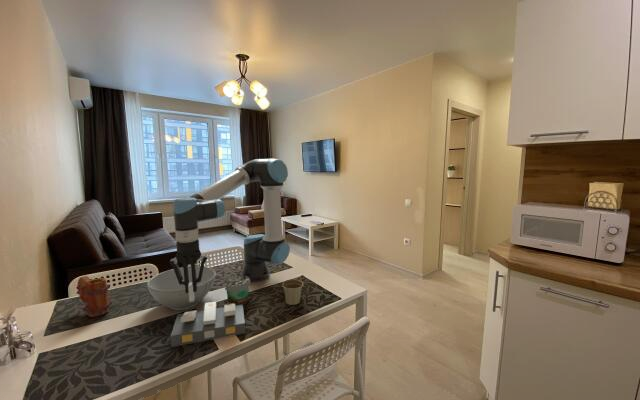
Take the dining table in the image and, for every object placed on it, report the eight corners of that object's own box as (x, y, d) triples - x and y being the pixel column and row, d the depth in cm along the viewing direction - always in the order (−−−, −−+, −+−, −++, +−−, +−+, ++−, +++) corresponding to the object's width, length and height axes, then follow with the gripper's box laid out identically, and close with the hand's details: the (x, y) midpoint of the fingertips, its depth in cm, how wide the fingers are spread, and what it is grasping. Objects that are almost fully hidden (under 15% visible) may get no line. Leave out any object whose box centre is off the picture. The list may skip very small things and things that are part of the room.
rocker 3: (224, 309, 106) (224, 304, 106) (235, 307, 107) (235, 303, 107) (224, 316, 96) (224, 311, 96) (235, 314, 98) (235, 309, 98)
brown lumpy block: (116, 310, 112) (114, 276, 110) (95, 321, 104) (91, 284, 102) (93, 304, 116) (90, 271, 115) (71, 314, 109) (67, 279, 107)
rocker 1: (185, 316, 101) (185, 311, 101) (196, 314, 102) (196, 310, 102) (181, 322, 92) (181, 317, 92) (193, 320, 93) (193, 315, 93)
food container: (235, 311, 112) (234, 288, 111) (225, 307, 115) (224, 285, 114) (256, 299, 123) (256, 278, 121) (247, 295, 126) (246, 275, 125)
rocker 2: (205, 306, 103) (205, 302, 103) (216, 304, 105) (216, 301, 104) (203, 325, 94) (203, 321, 94) (215, 323, 96) (215, 319, 95)
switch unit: (178, 324, 103) (177, 311, 102) (242, 313, 111) (242, 302, 110) (171, 347, 89) (170, 333, 89) (245, 333, 97) (244, 320, 97)
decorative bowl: (227, 302, 119) (226, 277, 118) (160, 328, 100) (158, 298, 98) (201, 284, 137) (200, 262, 136) (141, 303, 118) (139, 277, 117)
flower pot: (300, 308, 115) (300, 289, 114) (279, 306, 117) (279, 287, 116) (305, 298, 124) (305, 280, 123) (286, 296, 126) (286, 278, 125)
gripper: (165, 244, 92) (170, 308, 96) (206, 241, 97) (209, 301, 100) (169, 239, 99) (174, 298, 103) (207, 235, 104) (210, 292, 107)
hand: (192, 299), depth 101 cm, fingers closed
